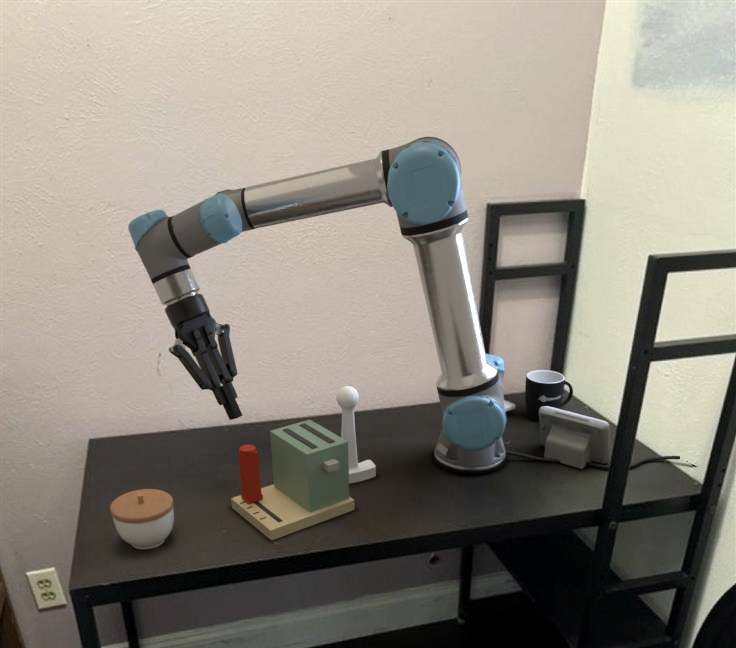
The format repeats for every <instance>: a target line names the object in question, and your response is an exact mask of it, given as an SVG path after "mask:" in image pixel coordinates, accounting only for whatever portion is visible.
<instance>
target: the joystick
mask: <svg viewBox="0 0 736 648" xmlns="http://www.w3.org/2000/svg"><path fill="white" fill-rule="evenodd" d="M335 400H336V402H337V404H338V406H340V408H341V428H340V429H341V433H340V437H341V438H343V439H344V440H346V441H348V464H349V484H355V483H359V482H364V481H367V480H370V479H373V478H375V477H376V476H377V465H376V464H375V463H374V462H373V461H372V459H366V460H363V461H361V462H359V461H358V460H359V458H358V449H357V448H358V446H357V435H356V422H355V407H356V406H357V405H358V403H359V400H360V393H359V392H358V390H357V389H356V388H355V387H353V386H352V385H351V386H350V385H345V386H342V387H340V388H339V390H337V392H336V397H335Z"/></svg>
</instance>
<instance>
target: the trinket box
mask: <svg viewBox="0 0 736 648" xmlns="http://www.w3.org/2000/svg"><path fill="white" fill-rule="evenodd" d="M109 511H110V514H111V516H112V521H113V524H114V525H113V526H114V527H115V530H116V532H117V534H118V535H119V537H120V538H121V539H122V540H123V541H124V542H125V543H127V544H129V545H130V546H131V547H133V548H134V549H138V550H150V549H155V548H158V547H160V546H161V545H163V544H164V543H165V541H166V539H167V538H168V537H169V535H170V534H171V532H172V530H173V527H174V522H175V510H174V498H173V496H172V495H171V494H170V493H168V492H166V491H164V490H162V489H161V490H160V489H155V488H142V489H135V490H132V491H129V492H128V491H127V492H125V493H123V494H121V495H120V496H117V497H116V498H115V499H114V500H113V501H112V502H111V503H110V506H109Z"/></svg>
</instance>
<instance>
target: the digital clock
mask: <svg viewBox="0 0 736 648" xmlns="http://www.w3.org/2000/svg"><path fill="white" fill-rule="evenodd" d="M538 422H539V429H540V441H541V445H542V446H543V447H544V454H543V458H550V459H558V460H560V461H561V462H560V463H559V464H562V465H567V466H569V467H572V468H575V469H576V468H577V469H580V470H583V469H584V468H585V467H586V466H587V465H586V462H591V463H596V464H601V465H606V464H608V463H609V462H610V461H611V427H610V424H609V422H608V421H606V420H603V419H599V418H595V417H592V416H588V415H583V414H580V413H576V412H573V411H568V410H564V409H562V408H561V409H560V408H559V409H557V408H553V407H549V406H542V407H540V409H539V421H538Z"/></svg>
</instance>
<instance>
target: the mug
mask: <svg viewBox="0 0 736 648" xmlns="http://www.w3.org/2000/svg"><path fill="white" fill-rule="evenodd" d="M565 385H566V386H567V387H568V391H569V392H568V395H567V397H566V399H565V400H563V401H562V398H563V395H564V394H563V393H564V390H565V389H564V388H565ZM524 388H525V389H524V398H525V400H524V401H525V411H526V415H527V417H528V418H530V419H531V420H533V421H536V422H537V421H538V422H540V421H539V409H540V407H542V406H549V407H553V408H557V409H560V408H562V407H564V406H565V405H567V404H568V403H569V402H570V401H571V400H572V398H573V395H574V387H573V386H572V384H571V383H570V382H568V381H567V380H566V378H565V376H564V374H562V373H560V372H558V371H555V370H547V369H537V370H532V371H529V372H528V373H526V377H525V387H524Z"/></svg>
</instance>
